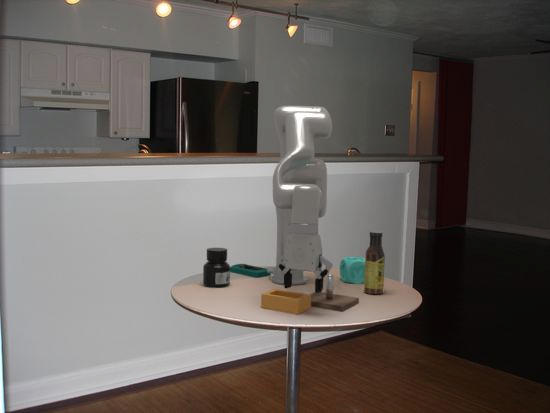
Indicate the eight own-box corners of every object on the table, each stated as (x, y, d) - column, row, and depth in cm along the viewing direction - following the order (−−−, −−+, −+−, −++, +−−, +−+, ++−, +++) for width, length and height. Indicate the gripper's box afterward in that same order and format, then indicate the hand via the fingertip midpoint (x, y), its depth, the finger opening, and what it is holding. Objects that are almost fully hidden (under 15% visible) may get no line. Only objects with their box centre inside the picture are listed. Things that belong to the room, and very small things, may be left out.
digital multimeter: (242, 270, 227) (242, 262, 226) (271, 276, 217) (271, 268, 217) (228, 272, 221) (228, 265, 221) (257, 279, 211) (257, 271, 211)
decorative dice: (339, 279, 214) (339, 256, 213) (360, 278, 215) (361, 256, 215) (346, 284, 206) (347, 261, 205) (368, 283, 208) (369, 260, 207)
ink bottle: (222, 289, 194) (222, 252, 192) (197, 286, 197) (198, 250, 195) (234, 283, 203) (235, 248, 201) (211, 280, 206) (211, 246, 204)
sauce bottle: (381, 295, 190) (384, 233, 188) (361, 293, 192) (364, 232, 190) (384, 291, 196) (387, 231, 194) (366, 289, 198) (368, 229, 197)
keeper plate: (298, 304, 178) (299, 274, 177) (316, 296, 188) (317, 267, 187) (342, 311, 171) (343, 280, 170) (358, 302, 181) (359, 273, 180)
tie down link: (261, 307, 173) (261, 294, 172) (275, 301, 179) (275, 288, 179) (297, 314, 166) (298, 300, 166) (310, 308, 173) (311, 294, 173)
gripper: (271, 228, 169) (269, 288, 170) (327, 233, 160) (325, 296, 161) (284, 226, 175) (282, 284, 177) (338, 230, 167) (336, 291, 168)
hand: (303, 289), depth 169 cm, fingers open, 9 cm apart
